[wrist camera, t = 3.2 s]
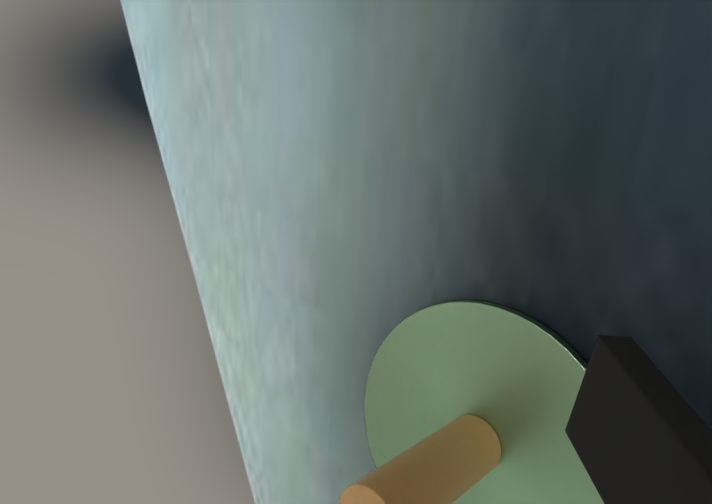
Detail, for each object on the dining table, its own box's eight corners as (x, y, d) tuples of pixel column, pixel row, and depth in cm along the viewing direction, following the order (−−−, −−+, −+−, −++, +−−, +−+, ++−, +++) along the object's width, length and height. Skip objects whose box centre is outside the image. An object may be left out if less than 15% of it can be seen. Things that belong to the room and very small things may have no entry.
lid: (347, 450, 37) (218, 521, 29) (426, 249, 32) (293, 271, 24) (550, 637, 29) (446, 802, 22) (700, 411, 24) (634, 522, 16)
